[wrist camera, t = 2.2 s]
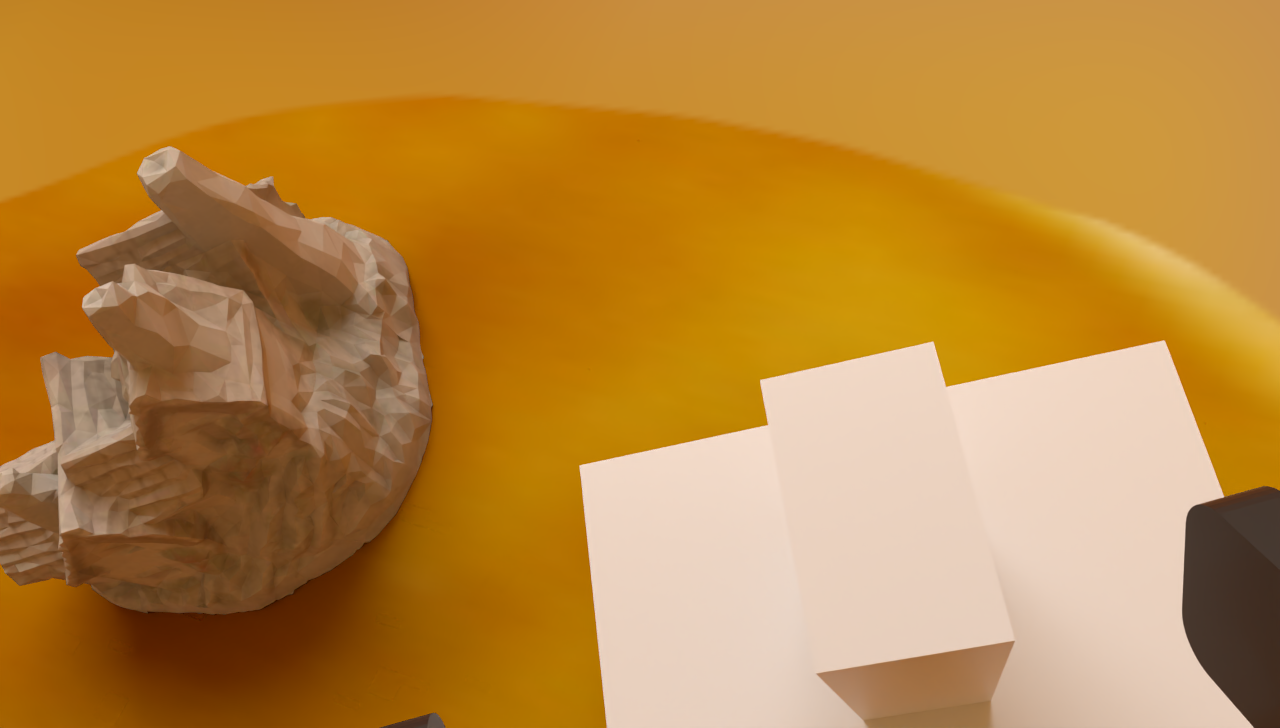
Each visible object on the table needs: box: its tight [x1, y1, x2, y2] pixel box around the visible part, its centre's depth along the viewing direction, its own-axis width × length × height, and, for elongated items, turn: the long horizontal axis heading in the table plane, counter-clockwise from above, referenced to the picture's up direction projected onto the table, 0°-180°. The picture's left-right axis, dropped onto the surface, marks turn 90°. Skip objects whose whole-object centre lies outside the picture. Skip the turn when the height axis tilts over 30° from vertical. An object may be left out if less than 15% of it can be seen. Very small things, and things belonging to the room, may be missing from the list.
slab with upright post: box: [580, 340, 1254, 728], centre depth 22 cm, size 11×16×13 cm
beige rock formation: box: [0, 146, 433, 615], centre depth 37 cm, size 16×16×15 cm
